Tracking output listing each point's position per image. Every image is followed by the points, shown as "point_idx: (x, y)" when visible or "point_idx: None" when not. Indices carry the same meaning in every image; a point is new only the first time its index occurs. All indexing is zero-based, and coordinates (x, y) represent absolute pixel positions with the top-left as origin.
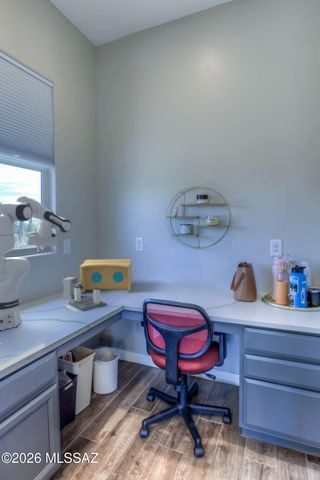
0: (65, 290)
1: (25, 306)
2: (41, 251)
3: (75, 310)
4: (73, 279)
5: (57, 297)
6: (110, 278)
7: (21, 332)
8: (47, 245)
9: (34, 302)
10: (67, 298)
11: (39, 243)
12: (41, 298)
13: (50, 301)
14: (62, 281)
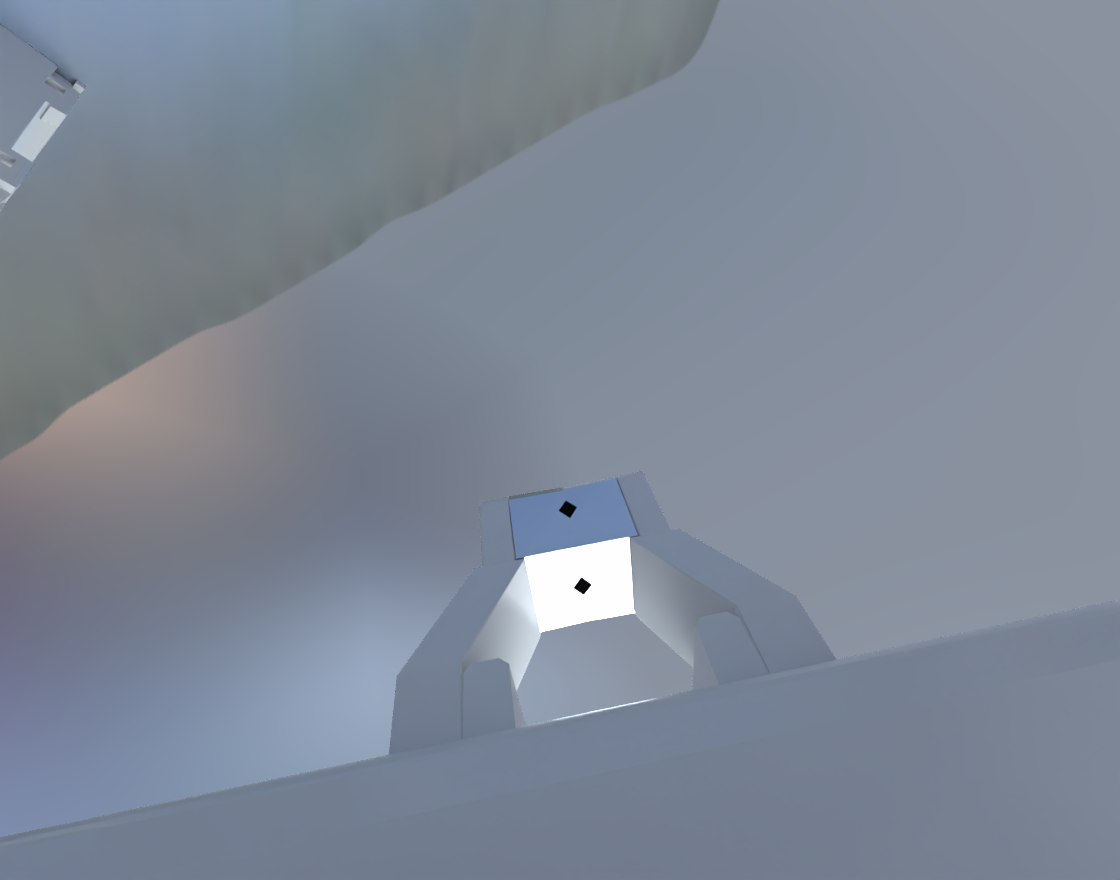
0: (1, 89)
1: (536, 35)
2: (505, 497)
3: None
4: None
5: (173, 172)
6: None
7: None
8: (197, 842)
9: (434, 130)
10: (3, 27)
11: (936, 841)
12: (354, 234)
13: (261, 45)
14: (17, 184)
